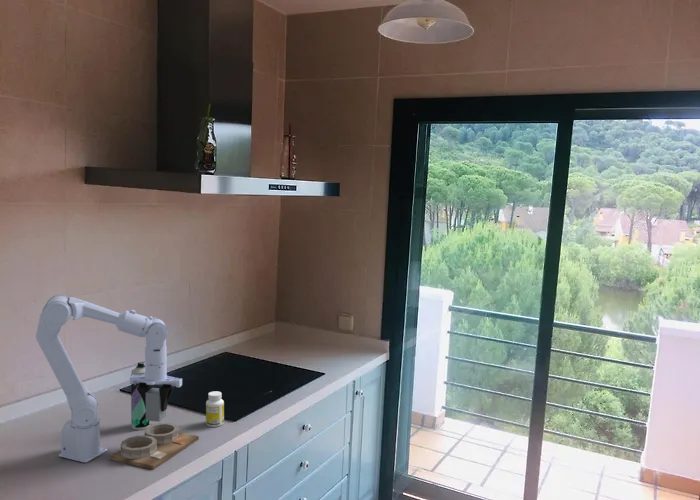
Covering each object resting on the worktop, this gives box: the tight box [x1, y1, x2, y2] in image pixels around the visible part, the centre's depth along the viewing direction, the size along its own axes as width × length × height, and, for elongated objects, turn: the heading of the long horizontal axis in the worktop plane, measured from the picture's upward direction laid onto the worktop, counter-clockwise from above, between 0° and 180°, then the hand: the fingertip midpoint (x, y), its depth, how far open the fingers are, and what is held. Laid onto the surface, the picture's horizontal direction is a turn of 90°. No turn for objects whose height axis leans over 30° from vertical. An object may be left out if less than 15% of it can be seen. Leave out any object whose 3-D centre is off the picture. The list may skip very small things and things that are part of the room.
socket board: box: [109, 422, 200, 470], centre depth 163 cm, size 14×20×4 cm
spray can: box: [130, 361, 151, 431], centre depth 176 cm, size 6×6×20 cm
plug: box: [146, 387, 167, 423], centre depth 164 cm, size 4×4×8 cm
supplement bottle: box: [205, 390, 225, 428], centre depth 181 cm, size 5×5×10 cm
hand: (156, 409), depth 164 cm, fingers closed on plug, 4 cm apart
